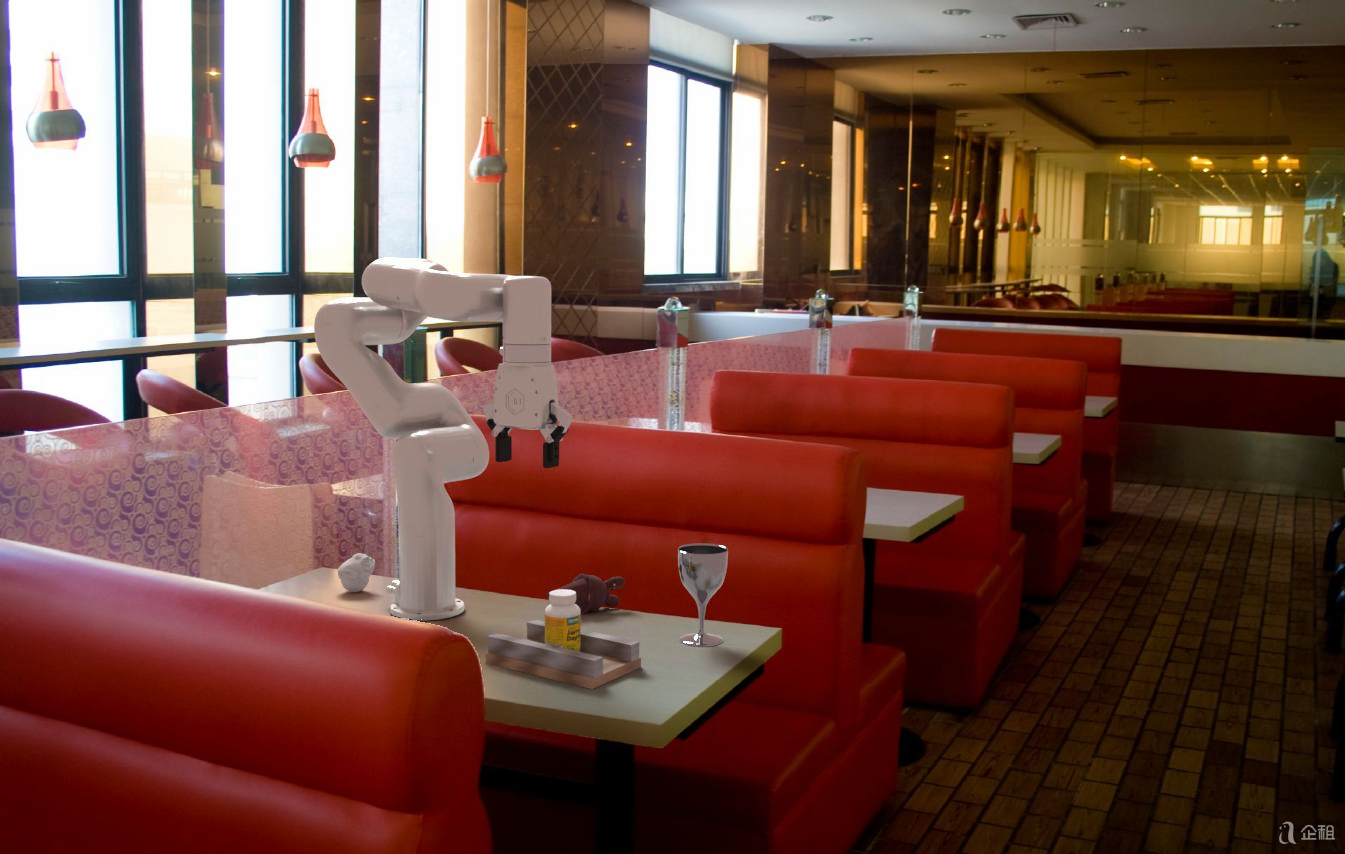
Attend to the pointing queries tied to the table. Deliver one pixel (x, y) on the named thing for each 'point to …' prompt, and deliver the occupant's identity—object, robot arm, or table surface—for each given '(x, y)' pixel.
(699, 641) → the wine glass
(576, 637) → the supplement bottle
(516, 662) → the sliding track
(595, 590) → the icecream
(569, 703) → the table surface
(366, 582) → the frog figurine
